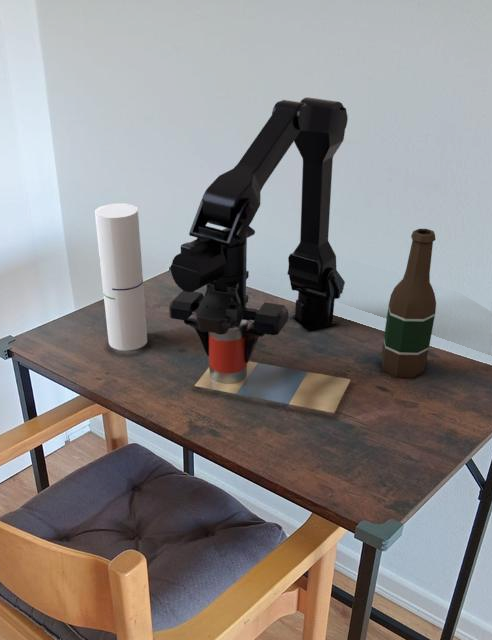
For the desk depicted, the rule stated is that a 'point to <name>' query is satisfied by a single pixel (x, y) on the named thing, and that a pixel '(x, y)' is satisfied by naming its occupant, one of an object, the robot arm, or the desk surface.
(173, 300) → the robot arm
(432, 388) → the desk surface
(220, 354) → the tin can
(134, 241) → the cylindrical container
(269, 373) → the board
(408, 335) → the beer bottle
